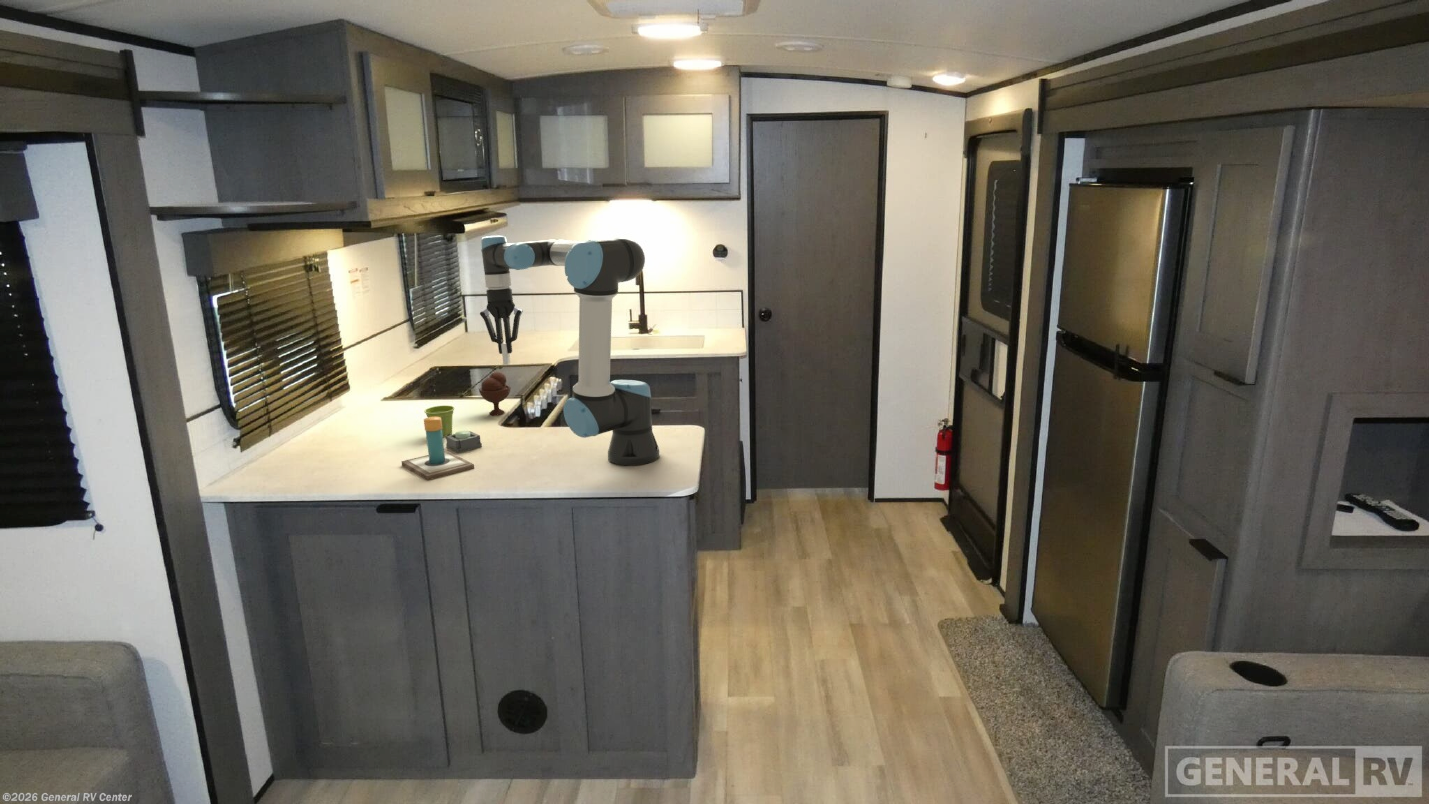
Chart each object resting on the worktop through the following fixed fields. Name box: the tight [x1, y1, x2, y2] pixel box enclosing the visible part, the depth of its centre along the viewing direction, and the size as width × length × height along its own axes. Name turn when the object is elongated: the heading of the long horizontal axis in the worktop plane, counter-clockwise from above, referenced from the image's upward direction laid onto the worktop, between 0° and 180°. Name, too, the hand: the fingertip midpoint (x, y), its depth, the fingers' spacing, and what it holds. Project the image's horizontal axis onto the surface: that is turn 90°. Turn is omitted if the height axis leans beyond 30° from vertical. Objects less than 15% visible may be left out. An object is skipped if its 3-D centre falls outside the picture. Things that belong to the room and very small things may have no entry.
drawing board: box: [400, 450, 475, 481], centre depth 248 cm, size 18×14×2 cm
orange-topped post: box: [423, 417, 445, 464], centre depth 246 cm, size 5×5×13 cm
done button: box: [454, 430, 470, 440], centre depth 265 cm, size 4×4×3 cm
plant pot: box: [424, 404, 455, 437], centre depth 278 cm, size 9×9×9 cm
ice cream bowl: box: [478, 371, 511, 417], centre depth 301 cm, size 11×11×15 cm
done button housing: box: [445, 430, 483, 453], centre depth 265 cm, size 8×8×4 cm
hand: (506, 363), depth 264 cm, fingers closed
